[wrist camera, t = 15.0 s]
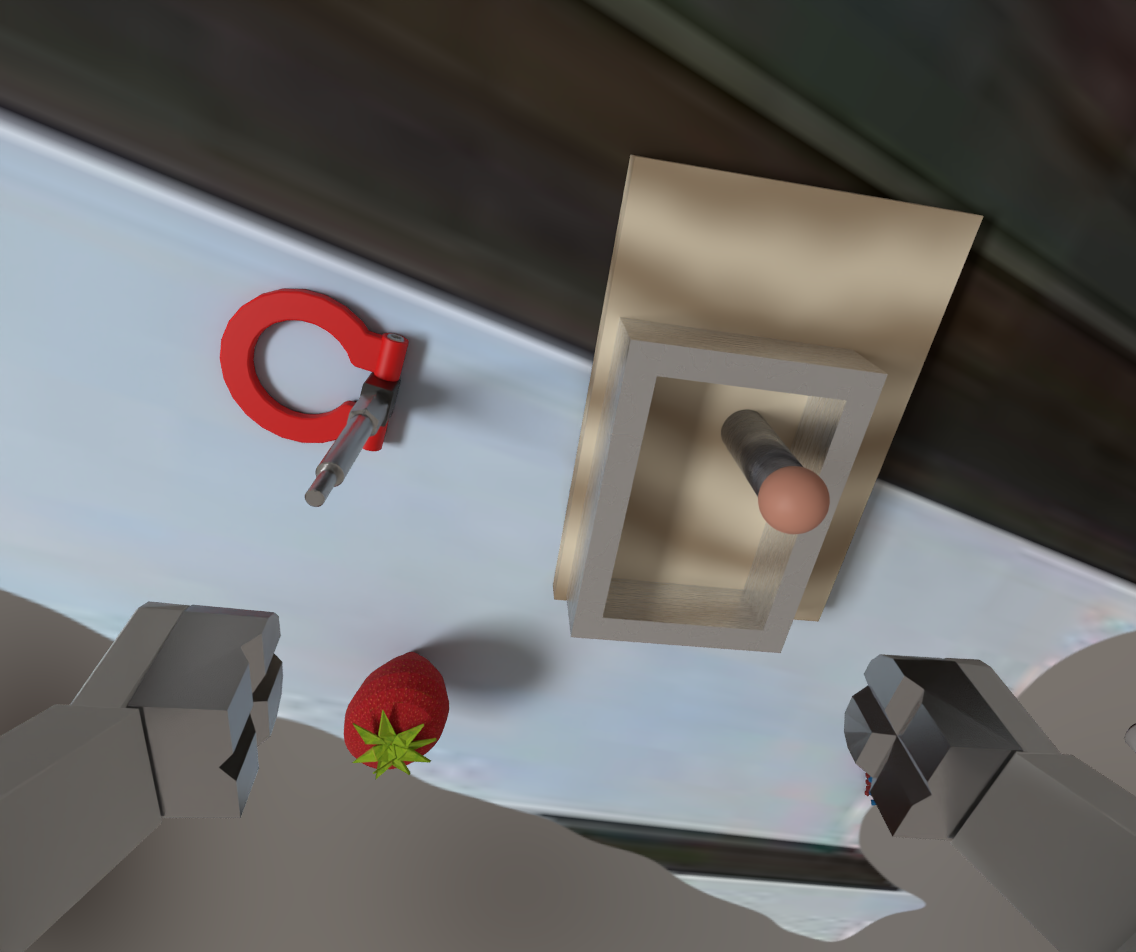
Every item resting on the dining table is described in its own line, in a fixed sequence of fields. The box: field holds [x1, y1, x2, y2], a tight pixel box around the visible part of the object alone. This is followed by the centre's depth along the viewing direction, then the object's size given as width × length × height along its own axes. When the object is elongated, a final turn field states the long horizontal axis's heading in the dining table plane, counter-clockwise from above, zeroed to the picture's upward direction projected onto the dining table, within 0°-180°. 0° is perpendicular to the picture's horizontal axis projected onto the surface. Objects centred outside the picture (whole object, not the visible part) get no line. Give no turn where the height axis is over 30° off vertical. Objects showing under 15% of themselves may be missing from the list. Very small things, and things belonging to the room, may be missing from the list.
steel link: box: [566, 317, 888, 653], centre depth 39 cm, size 18×13×4 cm
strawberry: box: [344, 652, 449, 779], centre depth 43 cm, size 6×8×10 cm
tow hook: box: [220, 289, 409, 507], centre depth 32 cm, size 8×13×9 cm
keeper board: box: [553, 155, 983, 621], centre depth 36 cm, size 26×18×11 cm
